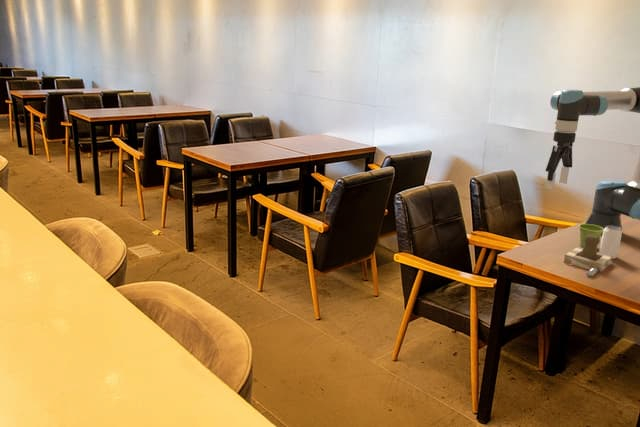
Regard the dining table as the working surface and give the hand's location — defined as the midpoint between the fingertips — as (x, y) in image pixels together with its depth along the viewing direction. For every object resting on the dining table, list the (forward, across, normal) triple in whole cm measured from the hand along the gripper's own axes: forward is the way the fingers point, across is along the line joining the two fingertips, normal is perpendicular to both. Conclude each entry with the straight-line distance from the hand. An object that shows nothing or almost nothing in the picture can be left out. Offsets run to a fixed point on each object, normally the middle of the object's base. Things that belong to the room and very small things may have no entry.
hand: (556, 185), depth 210 cm
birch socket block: (+26, +3, +17) cm, 31 cm away
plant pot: (+27, -16, +11) cm, 33 cm away
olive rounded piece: (+26, +3, +17) cm, 32 cm away
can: (+27, -11, +20) cm, 35 cm away
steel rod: (+26, +12, +22) cm, 36 cm away
